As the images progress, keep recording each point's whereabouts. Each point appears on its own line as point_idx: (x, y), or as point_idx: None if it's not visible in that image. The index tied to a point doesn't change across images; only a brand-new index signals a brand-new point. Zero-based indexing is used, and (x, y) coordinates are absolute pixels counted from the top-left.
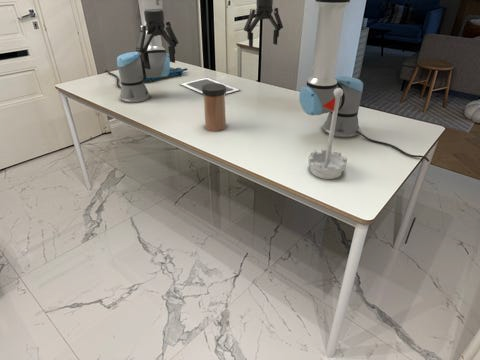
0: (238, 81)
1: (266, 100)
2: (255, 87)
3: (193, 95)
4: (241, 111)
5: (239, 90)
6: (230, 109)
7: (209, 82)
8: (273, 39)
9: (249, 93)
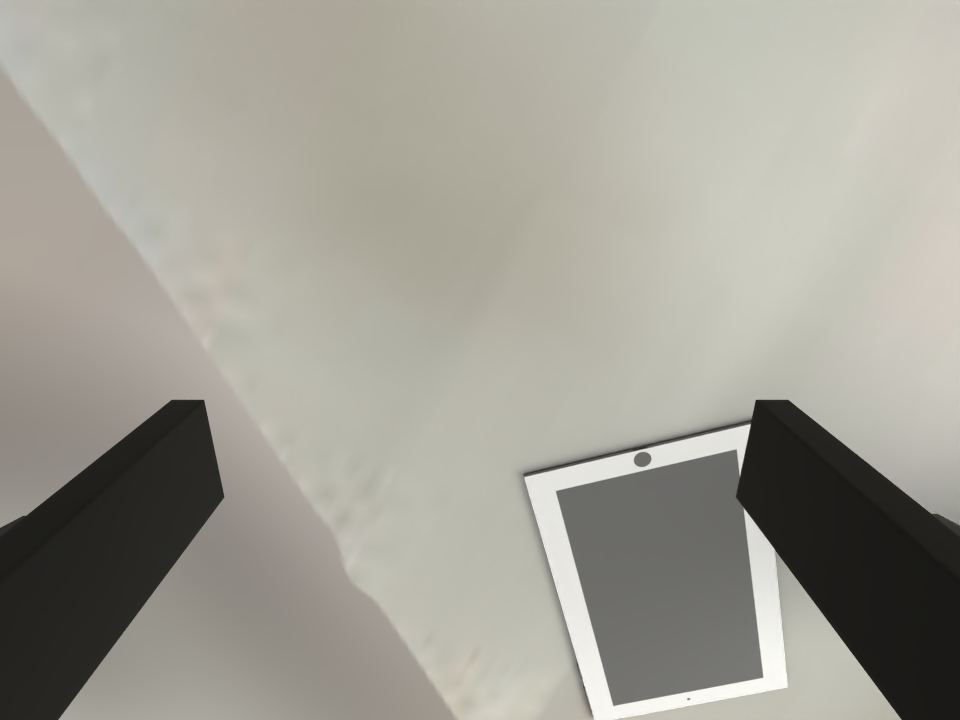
0: (448, 618)
1: (447, 231)
2: (397, 488)
3: None
4: (726, 104)
5: (527, 474)
6: (770, 180)
7: (626, 653)
8: (180, 546)
9: (489, 406)
